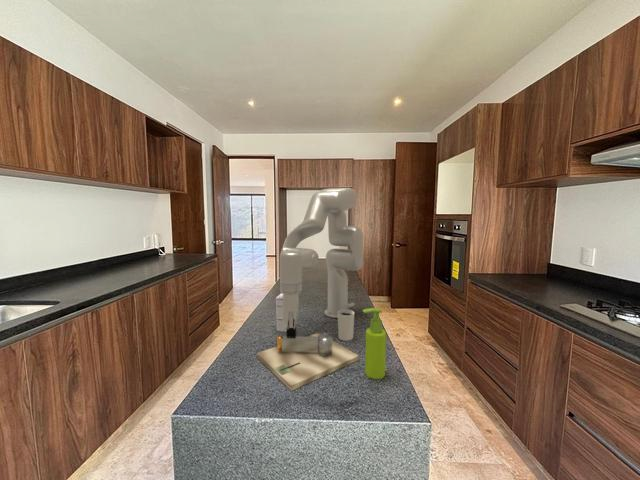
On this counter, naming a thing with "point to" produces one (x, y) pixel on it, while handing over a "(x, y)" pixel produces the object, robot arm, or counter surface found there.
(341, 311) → the white cup
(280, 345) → the lever
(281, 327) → the syrup box
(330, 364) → the dial board
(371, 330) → the soap dispenser
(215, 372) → the counter surface
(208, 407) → the counter surface
